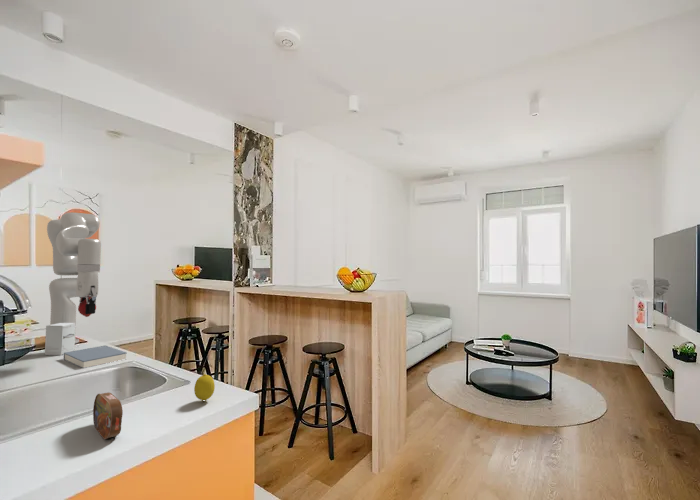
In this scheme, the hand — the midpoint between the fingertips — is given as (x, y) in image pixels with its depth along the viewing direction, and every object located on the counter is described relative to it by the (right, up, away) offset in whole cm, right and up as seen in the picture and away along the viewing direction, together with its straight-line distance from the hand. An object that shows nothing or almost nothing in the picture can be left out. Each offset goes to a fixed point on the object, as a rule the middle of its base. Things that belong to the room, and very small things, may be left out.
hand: (87, 312), depth 141 cm
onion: (0, -2, 0) cm, 2 cm away
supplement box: (-19, -20, +10) cm, 29 cm away
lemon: (+64, -19, -39) cm, 78 cm away
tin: (+48, -19, -57) cm, 77 cm away
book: (+2, -20, +1) cm, 20 cm away
